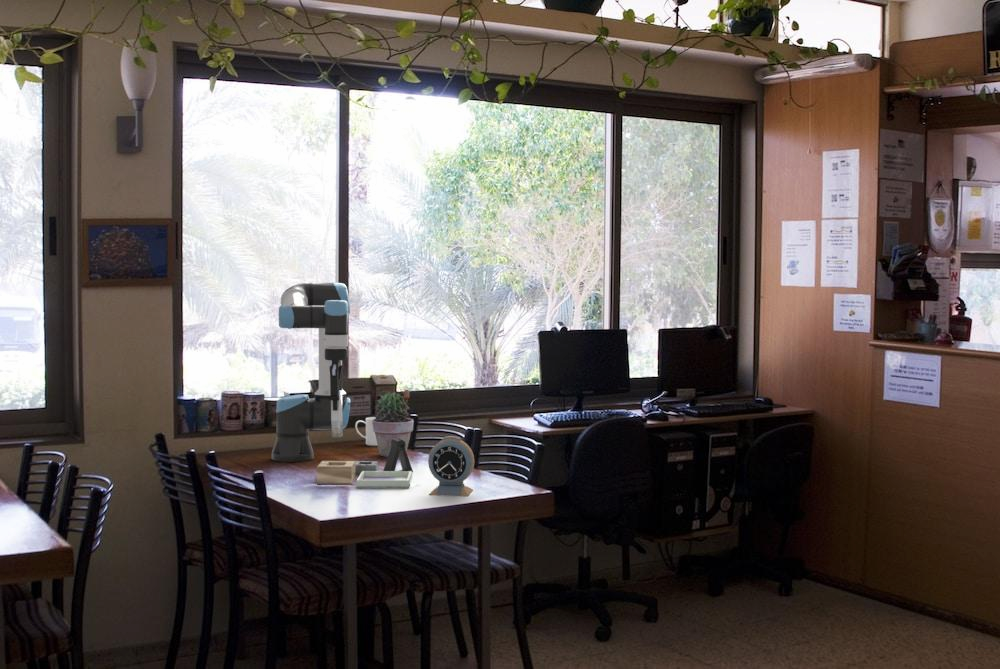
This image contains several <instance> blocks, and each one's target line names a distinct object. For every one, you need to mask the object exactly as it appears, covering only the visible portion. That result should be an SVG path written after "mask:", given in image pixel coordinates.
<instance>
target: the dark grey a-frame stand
mask: <svg viewBox="0 0 1000 669" xmlns="http://www.w3.org/2000/svg"><path fill="white" fill-rule="evenodd" d="M398 455H399V457H398ZM386 458H387V459H386V462H385V464H384V468H383V470H382V471H396V468H397V467H396V466H397V463H398V458H399V462H400V466H401V471H412V473H414V471H413V467H412V465H411V462H410V459H409V456H408V452H406V450H405V442H404V441H403V440H401V439H398V438H396V439H395V438H393V439H392V441H391V450H390V452H389V455H388V457H386Z"/></svg>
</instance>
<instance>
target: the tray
mask: <svg viewBox="0 0 1000 669" xmlns="http://www.w3.org/2000/svg"><path fill="white" fill-rule="evenodd" d="M366 477H367V478H369V477H370V478H374V477H376V478H379V477H380V478H386V477H387V478H401V477H402V478H406V479H364V478H366ZM412 478H413V472H412V471H404V470H395V471H383V470H378V471H362V472H361V474H360V475H359V476H358V477H357V479H356V489H409V488H410V486H411V484H410V483H411V481H412Z"/></svg>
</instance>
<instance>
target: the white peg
mask: <svg viewBox="0 0 1000 669" xmlns="http://www.w3.org/2000/svg"><path fill="white" fill-rule="evenodd" d="M339 400H340V421H331V429H330V430H331V438H343V437H344V436H343V435H344V432H343V430H344V429H343V422H342V391H341V390H339Z"/></svg>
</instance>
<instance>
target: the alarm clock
mask: <svg viewBox="0 0 1000 669" xmlns="http://www.w3.org/2000/svg"><path fill="white" fill-rule="evenodd" d="M428 454H429V455H428V459H427V460H428V461H427V464H428V468H429V471H430V473H431V474H432V476H433V477H434V478H435V479H436V480H437V481H438V482H439V483H438V486H436V487H435V488H434V489H432V491H431V492H430V493H429V494H428V496H441V497H442V495H443V496H444V497H445V496H447V497H449V496H450V497H469V496H470V493H471V494H472V492H473V491H474V489H473V488H471V487H469V486H466V485H465V483H464V481H466V480H467V478H469V476H470V475H471V474H472V472H473V470H474V468H475V455H474V453H473V450H472V448H471V447H470V446H469V445H468V443H466V442H465V441H464V440H462V439H461V437H458V436H455V435H448V436H445V437H443V438H441V440H439V442H437V443H436V444H434V445H433V447H432V448H431V450H430V452H429V453H428Z"/></svg>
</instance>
